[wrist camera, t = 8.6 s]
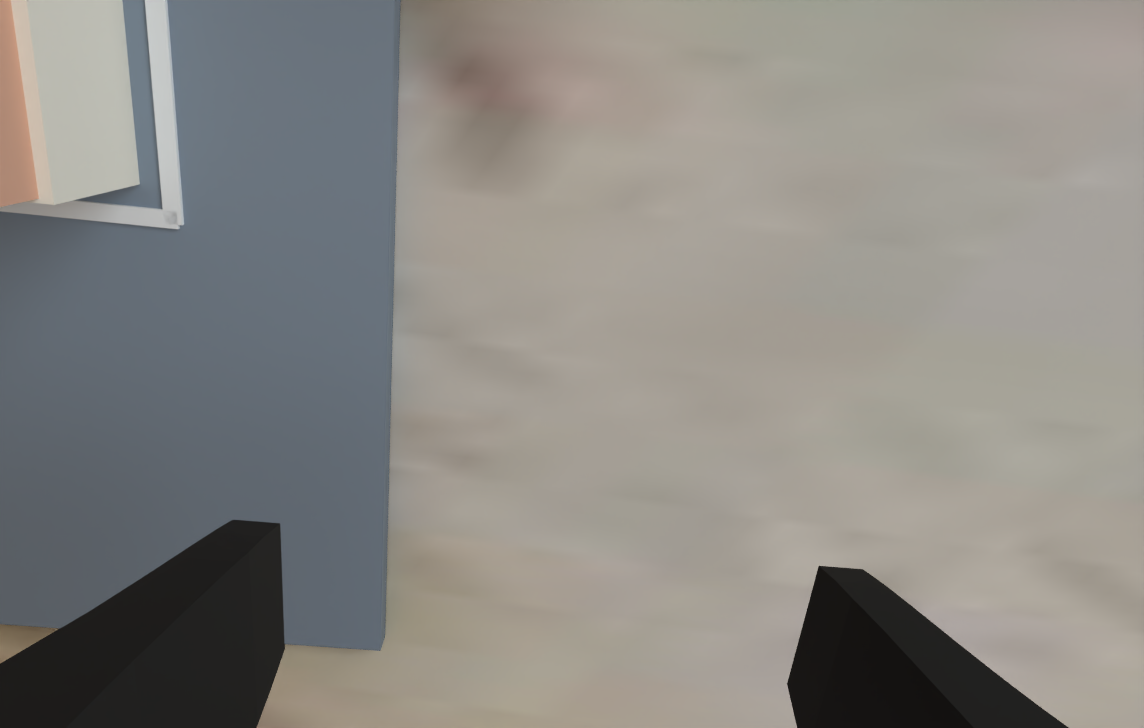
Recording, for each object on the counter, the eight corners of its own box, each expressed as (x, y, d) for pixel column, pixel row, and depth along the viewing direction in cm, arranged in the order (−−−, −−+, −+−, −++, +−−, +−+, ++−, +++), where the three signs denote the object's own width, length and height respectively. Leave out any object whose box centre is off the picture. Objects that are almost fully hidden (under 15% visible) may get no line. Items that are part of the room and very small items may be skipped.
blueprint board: (384, 635, 22) (353, 737, 18) (-192, 595, 21) (-337, 693, 17) (404, -175, 15) (359, -252, 11) (-464, -292, 14) (-795, -413, 10)
